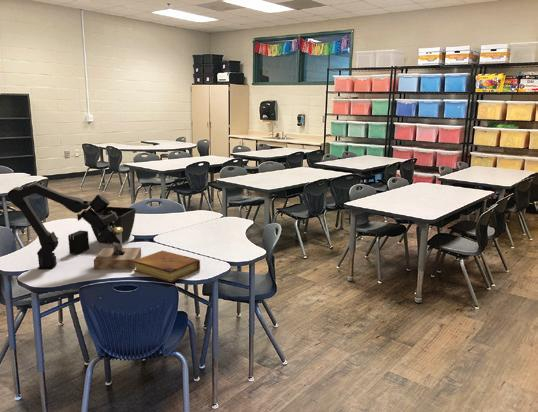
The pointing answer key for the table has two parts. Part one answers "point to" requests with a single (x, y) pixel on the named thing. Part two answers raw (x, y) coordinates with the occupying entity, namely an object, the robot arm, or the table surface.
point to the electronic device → (78, 242)
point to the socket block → (117, 259)
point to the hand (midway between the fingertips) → (120, 241)
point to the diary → (167, 265)
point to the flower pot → (119, 221)
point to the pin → (117, 232)
